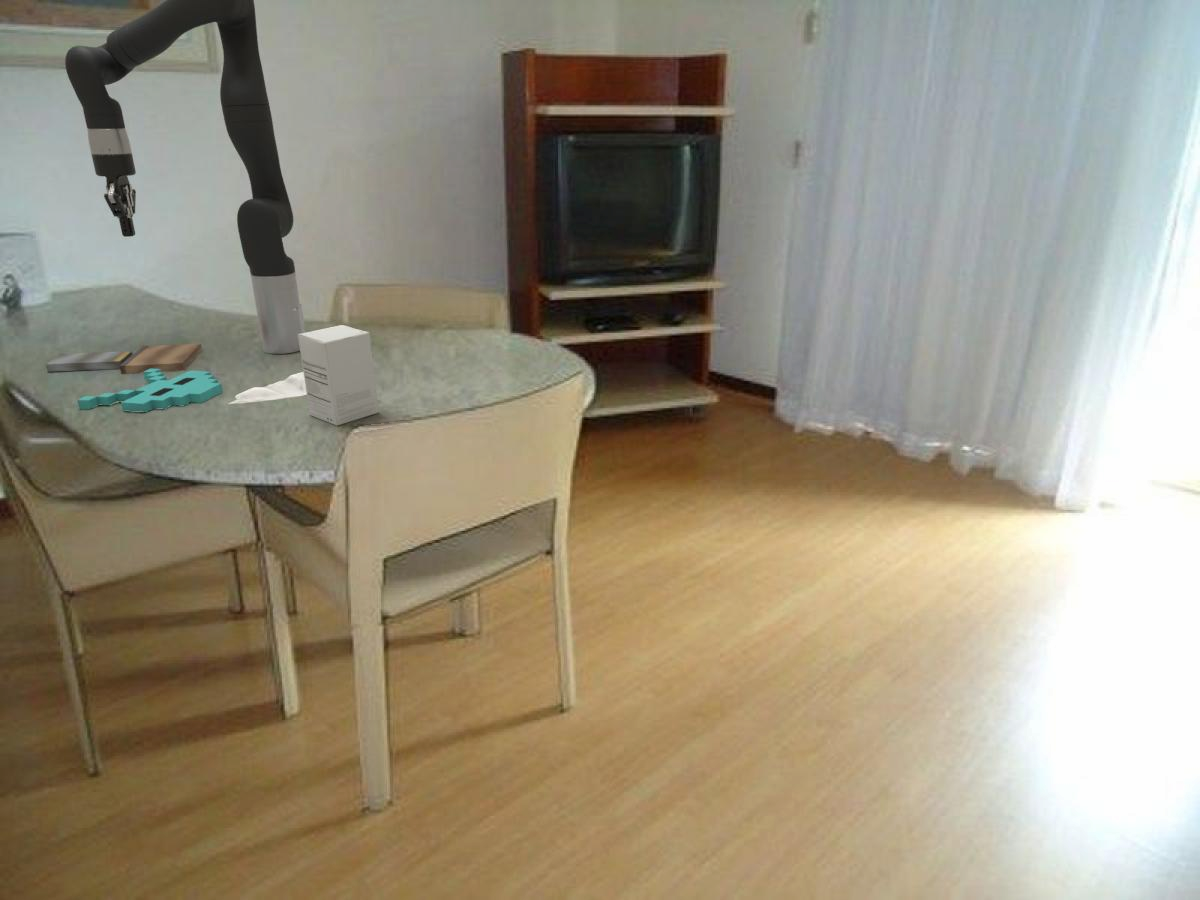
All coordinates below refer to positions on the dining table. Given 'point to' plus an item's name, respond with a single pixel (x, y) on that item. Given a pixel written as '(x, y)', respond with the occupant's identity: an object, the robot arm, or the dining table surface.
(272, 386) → the cloth
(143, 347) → the laid floor board
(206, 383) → the alien figure
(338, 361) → the supplement box
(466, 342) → the dining table surface
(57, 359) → the grey flat plate
